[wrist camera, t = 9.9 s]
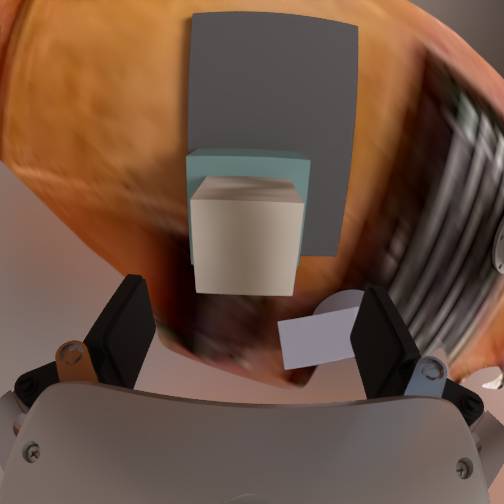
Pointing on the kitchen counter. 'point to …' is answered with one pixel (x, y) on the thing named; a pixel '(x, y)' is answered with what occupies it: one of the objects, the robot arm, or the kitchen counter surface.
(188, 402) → the robot arm
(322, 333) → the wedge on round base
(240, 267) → the cream cube
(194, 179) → the plinth
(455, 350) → the kitchen counter surface
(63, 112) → the kitchen counter surface
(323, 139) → the mat
